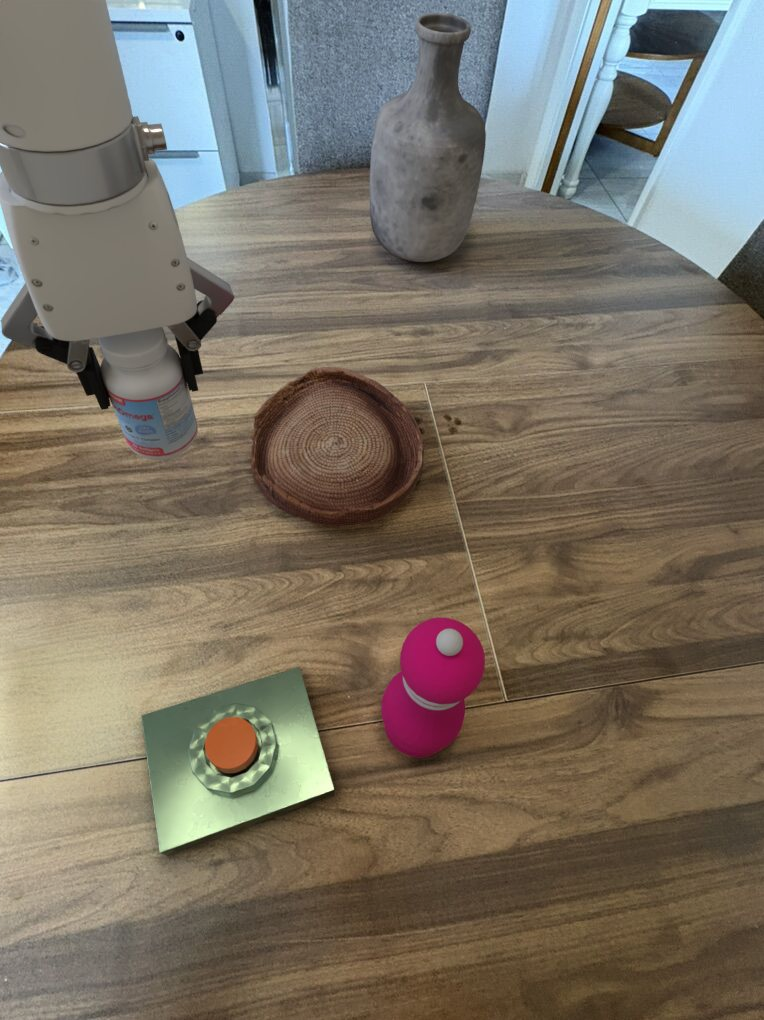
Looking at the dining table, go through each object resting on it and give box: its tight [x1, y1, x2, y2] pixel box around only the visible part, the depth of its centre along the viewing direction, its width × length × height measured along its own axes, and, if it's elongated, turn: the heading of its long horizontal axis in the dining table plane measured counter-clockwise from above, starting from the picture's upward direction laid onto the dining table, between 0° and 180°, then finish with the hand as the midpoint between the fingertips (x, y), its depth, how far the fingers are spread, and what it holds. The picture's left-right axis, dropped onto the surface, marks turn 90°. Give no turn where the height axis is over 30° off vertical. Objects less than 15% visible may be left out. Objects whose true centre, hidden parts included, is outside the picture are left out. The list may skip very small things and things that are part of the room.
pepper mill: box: [380, 616, 486, 759], centre depth 48 cm, size 7×7×20 cm
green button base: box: [140, 666, 336, 857], centre depth 52 cm, size 14×11×4 cm
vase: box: [369, 12, 487, 263], centre depth 87 cm, size 16×16×30 cm
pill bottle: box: [97, 327, 199, 461], centre depth 49 cm, size 6×6×11 cm
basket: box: [250, 366, 425, 528], centre depth 71 cm, size 22×20×5 cm
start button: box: [205, 717, 258, 773], centre depth 50 cm, size 4×4×2 cm
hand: (147, 386), depth 49 cm, fingers closed on pill bottle, 6 cm apart
